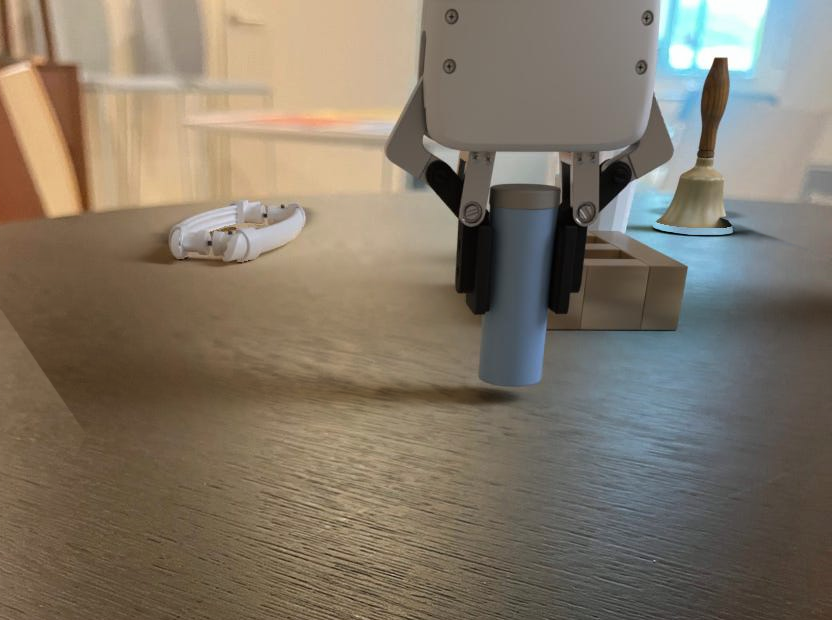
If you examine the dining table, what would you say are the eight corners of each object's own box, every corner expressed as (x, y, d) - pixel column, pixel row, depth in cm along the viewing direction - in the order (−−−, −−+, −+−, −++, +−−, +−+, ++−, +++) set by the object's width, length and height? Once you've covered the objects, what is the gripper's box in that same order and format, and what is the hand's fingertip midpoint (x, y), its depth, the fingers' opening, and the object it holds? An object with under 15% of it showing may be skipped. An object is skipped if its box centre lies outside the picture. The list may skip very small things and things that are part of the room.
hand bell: (731, 238, 103) (765, 57, 96) (647, 232, 106) (674, 55, 98) (735, 228, 110) (768, 58, 102) (657, 223, 113) (682, 57, 105)
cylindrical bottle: (534, 369, 54) (552, 183, 49) (548, 387, 51) (568, 191, 46) (472, 370, 54) (484, 183, 49) (483, 387, 51) (496, 191, 46)
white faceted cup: (575, 271, 85) (586, 180, 81) (530, 258, 90) (538, 171, 87) (641, 267, 87) (655, 178, 84) (594, 254, 93) (604, 170, 89)
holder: (611, 285, 80) (619, 230, 78) (677, 330, 66) (688, 266, 65) (498, 284, 79) (503, 229, 77) (541, 329, 66) (548, 264, 64)
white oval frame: (323, 228, 105) (260, 268, 84) (230, 224, 106) (145, 261, 85) (323, 200, 104) (259, 232, 82) (229, 196, 105) (143, 227, 84)
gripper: (718, -139, 45) (654, 292, 54) (346, -145, 44) (345, 294, 53) (791, -172, 38) (704, 325, 48) (356, -179, 38) (353, 327, 47)
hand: (515, 304), depth 50 cm, fingers closed on cylindrical bottle, 3 cm apart
